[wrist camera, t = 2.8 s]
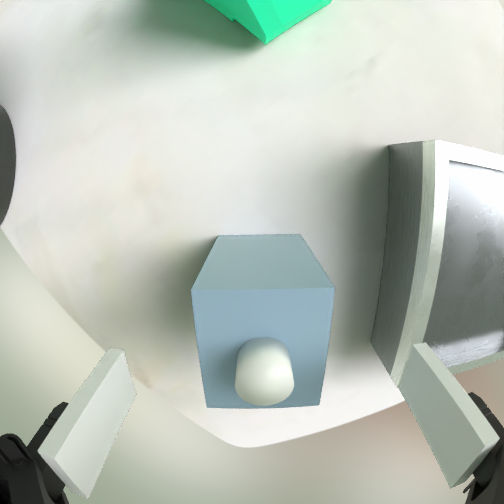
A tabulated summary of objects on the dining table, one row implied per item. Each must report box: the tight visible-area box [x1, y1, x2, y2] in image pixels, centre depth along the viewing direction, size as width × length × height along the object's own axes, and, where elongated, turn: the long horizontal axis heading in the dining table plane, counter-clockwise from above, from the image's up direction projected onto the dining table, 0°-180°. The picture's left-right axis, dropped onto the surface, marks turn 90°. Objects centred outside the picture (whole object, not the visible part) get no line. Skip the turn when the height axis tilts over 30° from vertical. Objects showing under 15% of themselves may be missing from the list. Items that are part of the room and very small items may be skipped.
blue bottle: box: [191, 234, 335, 409], centre depth 17 cm, size 6×7×12 cm
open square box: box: [371, 140, 504, 388], centre depth 19 cm, size 16×17×6 cm
